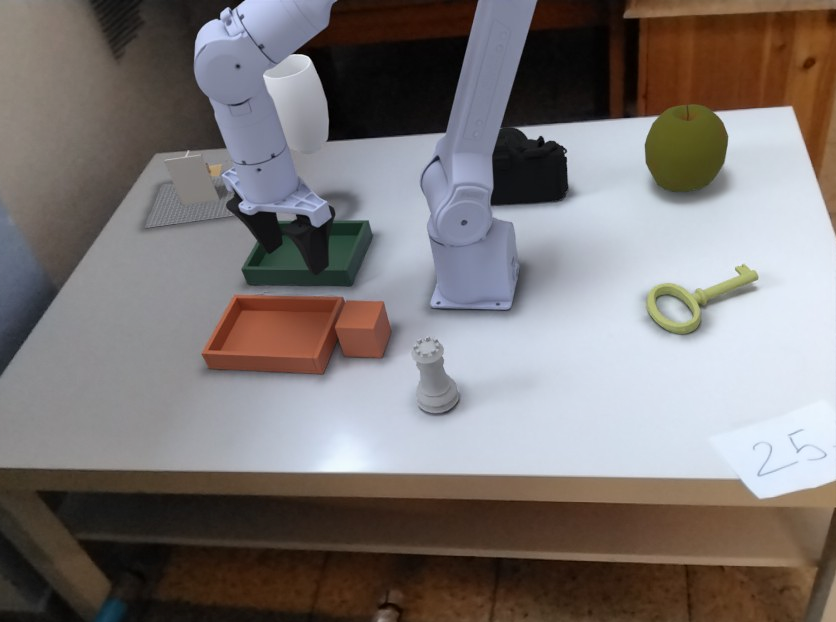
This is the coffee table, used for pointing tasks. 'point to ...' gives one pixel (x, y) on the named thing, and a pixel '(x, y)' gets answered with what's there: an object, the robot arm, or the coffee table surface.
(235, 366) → the terracotta tray
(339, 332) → the terracotta block
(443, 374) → the rook chess piece
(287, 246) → the green tray
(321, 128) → the cup
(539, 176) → the film camera
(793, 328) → the coffee table surface
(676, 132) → the apple
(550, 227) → the coffee table surface
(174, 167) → the architectural model
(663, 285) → the key
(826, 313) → the coffee table surface
